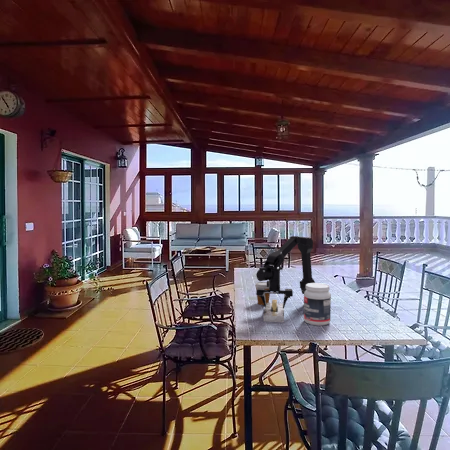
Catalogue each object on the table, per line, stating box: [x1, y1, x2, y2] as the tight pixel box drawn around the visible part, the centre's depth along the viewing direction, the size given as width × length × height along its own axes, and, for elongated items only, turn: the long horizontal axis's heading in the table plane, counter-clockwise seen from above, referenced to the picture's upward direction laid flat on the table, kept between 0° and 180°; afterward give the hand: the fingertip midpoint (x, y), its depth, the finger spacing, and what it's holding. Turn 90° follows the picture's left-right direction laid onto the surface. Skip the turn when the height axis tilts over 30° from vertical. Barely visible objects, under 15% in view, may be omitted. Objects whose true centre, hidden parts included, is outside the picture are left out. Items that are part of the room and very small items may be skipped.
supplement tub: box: [303, 282, 332, 327], centre depth 175 cm, size 13×13×18 cm
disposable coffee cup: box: [254, 281, 271, 306], centre depth 209 cm, size 10×10×12 cm
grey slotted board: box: [263, 302, 285, 324], centre depth 187 cm, size 10×24×3 cm, turn 171°
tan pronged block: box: [271, 299, 278, 312], centre depth 187 cm, size 2×7×7 cm, turn 171°
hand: (274, 308), depth 187 cm, fingers open, 9 cm apart
